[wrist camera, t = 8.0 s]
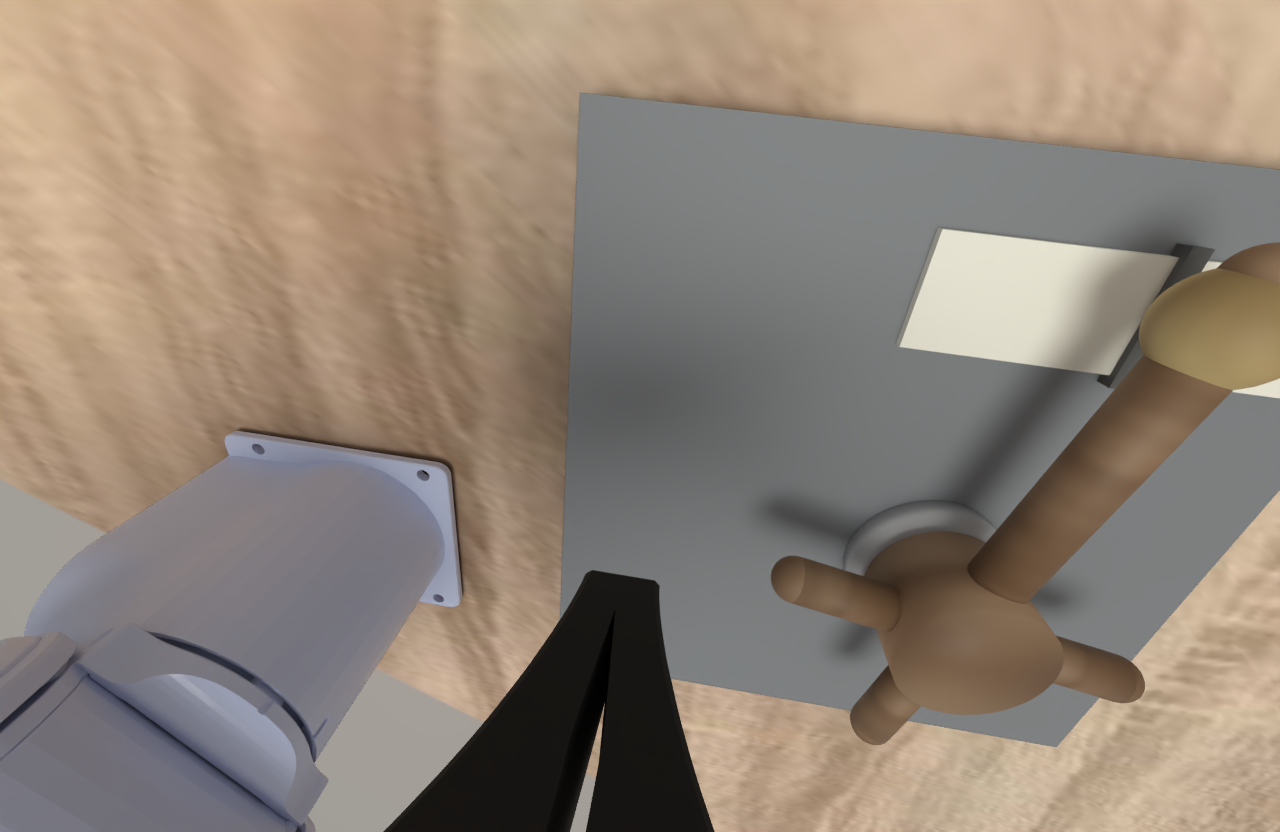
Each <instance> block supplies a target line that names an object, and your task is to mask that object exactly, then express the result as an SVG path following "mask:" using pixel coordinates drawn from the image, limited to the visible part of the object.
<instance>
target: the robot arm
mask: <svg viewBox="0 0 1280 832" xmlns="http://www.w3.org/2000/svg"><path fill="white" fill-rule="evenodd" d="M224 440H225V445H226V448H227V451H228V454H229V456H228V457H226V458H225V459H223V460H222V461H220V462H219V463H217V464H215V465H214V466H212V467H211V468H209V469H207V470H206V471H204V472H203V473H201V474H200V475H198V476H196V477H195V478H193V479H192V480H190V481H189V482H187V483H185V484H184V485H182V486H181V487H179V488H178V489H176V490H174V491H173V492H171V493H170V494H168V495H167V496H165V497H163V498H162V499H160V500H159V501H157V502H156V503H154V504H152V505H151V506H149V507H148V508H146V509H145V510H143V511H141V512H140V513H138V514H137V515H135V516H134V517H132V518H130V519H129V520H127V521H126V522H124V523H123V524H121V525H119V526H118V527H116V528H115V529H113V530H112V531H110V532H108V533H107V534H105V535H104V536H102V537H100V538H99V539H97V540H96V541H94V542H93V543H91V544H90V545H89V546H87V547H86V548H85V549H83V550H82V551H81V552H79V553H78V554H77V555H76V556H75V557H73V558H72V559H71V560H70V561H69V562H68V563H67V564H66V565H65V566H64V567H63V568H62V569H61V570H60V571H59V572H58V573H57V575H56V576H55V577H54V578H53V579H52V580H51V582H50V583H49V584H48V586H47V587H46V588H45V590H44V591H43V593H42V594H41V596H40V597H39V599H38V600H37V602H36V604H35V605H34V607H33V609H32V611H31V613H30V615H29V618H28V621H27V624H26V627H25V631H24V636H23V637H13V638H7V639H4V640H1V641H0V832H316V829H315V825H314V823H313V822H312V821H311V819H310V818H309V817H308V814H309V813H310V811H311V809H312V808H313V806H314V804H315V803H316V801H317V799H318V798H319V796H320V795H321V793H322V791H323V790H324V788H325V786H326V785H327V783H328V778H327V777H326V776H325V775H324V774H323V773H322V772H320V770H319V769H318V768H317V767H316V766H315V764H314V763H315V761H316V759H317V758H318V756H319V755H320V753H321V752H322V750H323V749H324V747H325V746H326V744H327V742H328V741H329V739H330V738H331V736H332V735H333V733H334V732H335V730H336V728H337V727H338V725H339V724H340V722H341V721H342V719H343V718H344V716H345V715H346V713H347V711H348V710H349V708H350V707H351V705H352V704H353V702H354V700H355V699H356V697H357V696H358V694H359V693H360V691H361V690H362V688H363V686H364V685H365V684H366V682H367V680H368V679H369V677H370V676H371V674H372V673H373V671H374V670H375V668H376V667H377V665H378V663H379V662H380V660H381V659H382V657H383V656H384V654H385V653H386V651H387V649H388V648H389V646H390V645H391V643H392V642H393V640H394V639H395V637H396V636H397V634H398V632H399V631H400V629H401V628H402V626H403V625H404V623H405V622H406V620H407V618H408V617H409V615H410V614H411V612H412V611H413V609H414V608H415V606H416V604H417V603H418V602H424V603H430V604H435V605H441V606H447V607H455V606H458V605H459V603H460V601H461V600H462V587H461V576H460V565H459V554H458V544H457V533H456V522H455V511H454V500H453V489H452V479H451V472H450V470H449V469H448V467H447V466H445V465H444V464H442V463H439V462H434V461H427V460H421V459H414V458H408V457H402V456H395V455H389V454H383V453H376V452H370V451H363V450H357V449H351V448H344V447H338V446H332V445H325V444H319V443H312V442H306V441H300V440H293V439H287V438H280V437H274V436H268V435H261V434H255V433H249V432H242V431H234V432H232V433H231V434H229V435H227V436H226V437H225V439H224ZM422 470H424V471H426V472H427V473H428V474H429V475H426V474H425V473H424V472H423V471H422ZM659 590H660V586H659V585H658V583H657V582H656V581H655V580H650V579H644V578H638V577H632V576H626V575H620V574H614V573H608V572H602V571H596V570H591V571H589V572H587V573H586V574H585V576H584V578H583V580H582V583H581V585H580V586H579V588H578V590H577V592H576V594H575V596H574V597H573V599H572V601H571V603H570V604H569V606H568V608H567V609H566V611H565V613H564V614H563V616H562V617H561V619H560V621H559V622H558V624H557V625H556V627H555V628H554V630H553V631H552V633H551V634H550V636H549V637H548V639H547V640H546V641H545V643H544V644H543V646H542V647H541V649H540V650H539V652H538V653H537V654H536V656H535V657H534V659H533V660H532V662H531V663H530V664H529V666H528V667H527V668H526V670H525V671H524V673H523V674H522V675H521V676H520V678H519V679H518V680H517V682H516V683H515V684H514V685H513V687H512V688H511V689H510V691H509V692H508V693H507V694H506V696H505V697H504V698H503V700H502V701H501V702H500V703H499V705H498V706H497V707H496V709H495V710H494V711H493V712H492V714H491V715H490V716H489V717H488V718H487V720H486V721H485V722H484V723H483V724H482V726H481V727H480V728H479V729H478V730H477V732H476V733H475V734H474V735H473V736H472V737H471V739H470V740H469V741H468V742H467V743H466V744H465V745H464V747H463V748H462V749H461V750H460V751H459V752H458V753H457V754H456V756H455V757H454V758H453V759H452V760H451V761H450V762H449V764H448V765H447V766H446V767H445V768H444V769H443V770H442V771H441V772H440V773H439V775H438V776H437V777H436V778H435V779H434V780H433V781H432V782H431V783H430V784H429V785H428V786H427V787H426V788H425V789H424V790H423V791H422V792H421V794H419V796H418V797H417V798H416V799H415V800H414V801H413V802H412V803H411V804H410V805H409V806H408V807H407V808H406V809H405V810H404V811H403V812H402V813H401V815H399V817H397V819H396V820H395V821H394V822H393V823H392V824H391V825H390V826H389V827H388V828H387V829H386V830H385V831H384V832H570V829H571V825H572V822H573V818H574V814H575V811H576V807H577V803H578V799H579V796H580V792H581V789H582V785H583V781H584V777H585V774H586V770H587V766H588V763H589V759H590V755H591V752H592V748H593V744H594V740H595V737H596V733H597V729H598V726H599V722H600V718H601V714H602V711H603V707H604V717H603V727H602V737H601V747H600V757H599V765H598V770H597V776H596V781H595V787H594V792H593V797H592V802H591V808H590V813H589V818H588V823H587V829H586V832H714V829H713V826H712V823H711V820H710V817H709V814H708V811H707V808H706V805H705V802H704V799H703V796H702V793H701V790H700V787H699V784H698V780H697V777H696V774H695V771H694V767H693V764H692V760H691V757H690V754H689V750H688V746H687V743H686V739H685V735H684V732H683V728H682V724H681V721H680V717H679V713H678V708H677V704H676V700H675V696H674V691H673V686H672V682H671V677H670V673H669V668H668V663H667V658H666V652H665V646H664V639H663V632H662V625H661V616H660V599H659ZM604 703H605V706H604Z"/></svg>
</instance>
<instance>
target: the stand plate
mask: <svg viewBox="0 0 1280 832" xmlns="http://www.w3.org/2000/svg"><path fill="white" fill-rule="evenodd" d="M1276 242H1280V170H1278V169H1268V168H1259V167H1250V166H1241V165H1232V164H1223V163H1214V162H1205V161H1196V160H1187V159H1178V158H1169V157H1160V156H1151V155H1141V154H1132V153H1123V152H1114V151H1105V150H1096V149H1087V148H1078V147H1069V146H1060V145H1051V144H1042V143H1033V142H1024V141H1014V140H1005V139H996V138H987V137H978V136H969V135H960V134H951V133H942V132H933V131H924V130H915V129H906V128H897V127H887V126H878V125H869V124H860V123H851V122H842V121H833V120H824V119H815V118H806V117H797V116H788V115H779V114H770V113H760V112H751V111H742V110H733V109H724V108H715V107H706V106H697V105H688V104H679V103H670V102H661V101H652V100H643V99H633V98H624V97H615V96H606V95H597V94H588V93H580V102H579V128H578V155H577V181H576V208H575V234H574V260H573V287H572V313H571V340H570V366H569V392H568V419H567V445H566V472H565V498H564V524H563V551H562V577H561V603H560V619H561V617H562V616H563V614H564V613H565V611H566V609H567V608H568V606H569V604H570V603H571V601H572V599H573V597H574V596H575V594H576V592H577V590H578V588H579V586H580V585H581V583H582V580H583V578H584V576H585V574H586V573H587V572H589V571H591V570H596V571H602V572H608V573H614V574H620V575H626V576H632V577H638V578H644V579H650V580H655V581H656V582H657V583H658V585H659V586H660V590H659V599H660V616H661V625H662V632H663V639H664V646H665V652H666V658H667V663H668V668H669V673H670V677H671V679H675V680H681V681H687V682H692V683H698V684H703V685H709V686H715V687H720V688H726V689H732V690H737V691H743V692H748V693H754V694H760V695H765V696H771V697H777V698H782V699H788V700H793V701H799V702H805V703H810V704H816V705H822V706H827V707H833V708H838V709H844V710H850V711H851V710H852V708H853V706H854V705H855V703H856V702H857V701H858V700H859V699H860V698H861V696H862V695H863V694H864V693H865V692H866V690H867V689H868V688H869V687H870V686H871V685H872V683H873V682H874V681H875V680H876V679H877V677H878V676H879V675H880V674H881V673H882V672H883V670H884V669H885V668H886V667H887V666H888V662H887V659H886V657H885V654H884V651H883V648H882V645H881V642H880V639H879V636H878V634H877V631H876V629H874V628H870V627H867V626H864V625H861V624H857V623H854V622H851V621H847V620H844V619H841V618H838V617H834V616H831V615H828V614H825V613H821V612H818V611H815V610H811V609H808V608H805V607H802V606H798V605H795V604H792V603H789V602H787V601H785V600H783V599H781V598H780V597H779V596H778V595H777V594H776V592H775V591H774V589H773V586H772V584H771V572H772V569H773V567H774V565H775V564H776V562H777V561H779V560H780V559H781V558H783V557H786V556H800V557H803V558H806V559H810V560H813V561H816V562H819V563H822V564H826V565H829V566H832V567H835V568H839V569H842V570H845V571H848V572H852V573H855V574H858V575H861V576H864V574H865V572H866V569H867V568H868V566H869V564H870V563H871V562H872V560H873V559H874V558H875V557H876V556H877V555H878V554H879V553H880V552H881V551H883V550H884V549H885V548H887V547H888V546H890V545H892V544H893V543H895V542H897V541H899V540H902V539H904V538H907V537H910V536H913V535H917V534H921V533H927V532H938V531H946V532H957V533H962V534H966V535H970V536H972V537H975V538H978V539H979V540H981V541H983V542H985V543H986V542H987V541H988V540H989V539H990V537H991V536H992V535H993V534H994V533H995V531H996V530H997V529H998V528H999V527H1000V526H1001V524H1002V523H1003V522H1004V521H1005V520H1006V518H1007V517H1008V516H1009V515H1010V514H1011V512H1012V511H1013V510H1014V509H1015V508H1016V506H1017V505H1018V504H1019V503H1020V502H1021V500H1022V499H1023V498H1024V497H1025V496H1026V495H1027V493H1028V492H1029V491H1030V490H1031V489H1032V487H1033V486H1034V485H1035V484H1036V483H1037V481H1038V480H1039V479H1040V478H1041V477H1042V475H1043V474H1044V473H1045V472H1046V471H1047V470H1048V468H1049V467H1050V466H1051V465H1052V464H1053V462H1054V461H1055V460H1056V459H1057V458H1058V456H1059V455H1060V454H1061V453H1062V452H1063V450H1064V449H1065V448H1066V447H1067V446H1068V444H1069V443H1070V442H1071V441H1072V440H1073V439H1074V437H1075V436H1076V435H1077V434H1078V433H1079V431H1080V430H1081V429H1082V428H1083V427H1084V425H1085V424H1086V423H1087V422H1088V421H1089V419H1090V418H1091V417H1092V416H1093V415H1094V414H1095V412H1096V411H1097V410H1098V409H1099V408H1100V406H1101V405H1102V404H1103V403H1104V402H1105V400H1106V399H1107V398H1108V397H1109V396H1110V394H1111V393H1112V392H1113V391H1114V390H1115V388H1116V387H1117V386H1118V385H1119V384H1120V383H1121V381H1122V380H1123V379H1124V378H1125V377H1126V375H1127V374H1128V373H1129V372H1130V371H1131V369H1132V368H1133V367H1134V366H1135V365H1136V363H1137V362H1138V361H1139V360H1140V359H1141V358H1142V356H1143V353H1142V350H1141V347H1140V343H1139V329H1140V324H1141V321H1142V319H1143V316H1144V314H1145V313H1146V311H1147V309H1148V308H1149V307H1150V305H1151V304H1152V303H1153V302H1154V301H1155V299H1156V298H1157V297H1159V296H1160V295H1161V294H1162V293H1163V292H1164V291H1166V290H1167V289H1168V288H1170V287H1171V286H1173V285H1174V284H1176V283H1178V282H1180V281H1182V280H1184V279H1186V278H1188V277H1190V276H1192V275H1195V274H1198V273H1201V272H1204V271H1207V270H1211V269H1216V268H1217V267H1218V266H1219V265H1220V264H1221V263H1222V262H1224V261H1225V260H1227V259H1228V258H1229V257H1231V256H1233V255H1235V254H1236V253H1238V252H1240V251H1242V250H1245V249H1248V248H1250V247H1253V246H1257V245H1262V244H1266V243H1276ZM1279 490H1280V378H1279V379H1277V380H1274V381H1271V382H1269V383H1266V384H1263V385H1259V386H1255V387H1250V388H1245V389H1239V390H1233V391H1232V392H1231V393H1230V394H1229V395H1228V396H1227V397H1226V398H1225V399H1224V400H1223V401H1222V402H1221V403H1220V404H1219V405H1218V406H1217V407H1216V408H1215V410H1214V411H1213V412H1212V413H1211V414H1210V415H1209V416H1208V417H1207V418H1206V419H1205V420H1204V421H1203V422H1202V423H1201V424H1200V425H1199V426H1198V427H1197V428H1196V429H1195V430H1194V431H1193V432H1192V433H1191V434H1190V435H1189V436H1188V437H1187V438H1186V439H1185V440H1184V441H1183V443H1182V444H1181V445H1180V446H1179V447H1178V448H1177V449H1176V450H1175V451H1174V452H1173V453H1172V454H1171V455H1170V456H1169V457H1168V458H1167V459H1166V460H1165V461H1164V462H1163V463H1162V464H1161V465H1160V466H1159V467H1158V468H1157V469H1156V470H1155V471H1154V472H1153V473H1152V474H1151V476H1150V477H1149V478H1148V479H1147V480H1146V481H1145V482H1144V483H1143V484H1142V485H1141V486H1140V487H1139V488H1138V489H1137V490H1136V491H1135V492H1134V493H1133V494H1132V495H1131V496H1130V497H1129V498H1128V499H1127V500H1126V501H1125V502H1124V503H1123V504H1122V505H1121V506H1120V507H1119V508H1118V510H1117V511H1116V512H1115V513H1114V514H1113V515H1112V516H1111V517H1110V518H1109V519H1108V520H1107V521H1106V522H1105V523H1104V524H1103V525H1102V526H1101V527H1100V528H1099V529H1098V530H1097V531H1096V532H1095V533H1094V534H1093V535H1092V536H1091V537H1090V538H1089V539H1088V540H1087V541H1086V543H1085V544H1084V545H1083V546H1082V547H1081V548H1080V549H1079V550H1078V551H1077V552H1076V553H1075V554H1074V555H1073V556H1072V557H1071V558H1070V559H1069V560H1068V561H1067V562H1066V563H1065V564H1064V565H1063V566H1062V567H1061V568H1060V569H1059V570H1058V571H1057V572H1056V573H1055V574H1054V576H1053V577H1052V578H1051V579H1050V580H1049V581H1048V582H1047V583H1046V584H1045V585H1044V586H1043V587H1042V588H1041V589H1040V590H1039V591H1038V592H1037V593H1036V594H1035V595H1034V596H1033V597H1032V598H1031V599H1030V600H1031V602H1032V603H1033V605H1034V606H1035V607H1036V609H1037V610H1038V612H1039V613H1040V614H1041V616H1042V617H1043V619H1044V620H1045V621H1046V623H1047V624H1048V626H1049V627H1050V628H1051V630H1052V631H1053V633H1054V634H1055V635H1056V636H1059V637H1062V638H1066V639H1069V640H1072V641H1075V642H1079V643H1082V644H1085V645H1088V646H1092V647H1095V648H1098V649H1101V650H1105V651H1108V652H1111V653H1114V654H1117V655H1120V656H1122V657H1124V658H1126V659H1128V660H1129V661H1130V662H1131V661H1132V660H1133V658H1134V657H1135V656H1136V655H1137V654H1138V653H1139V651H1140V650H1141V649H1142V648H1143V647H1144V646H1145V645H1146V643H1147V642H1148V641H1149V640H1150V639H1151V638H1152V637H1153V635H1154V634H1155V633H1156V632H1157V631H1158V630H1159V628H1160V627H1161V626H1162V625H1163V624H1164V623H1165V622H1166V620H1167V619H1168V618H1169V617H1170V616H1171V615H1172V613H1173V612H1174V611H1175V610H1176V609H1177V608H1178V607H1179V605H1180V604H1181V603H1182V602H1183V601H1184V600H1185V599H1186V597H1187V596H1188V595H1189V594H1190V593H1191V592H1192V590H1193V589H1194V588H1195V587H1196V586H1197V585H1198V584H1199V582H1200V581H1201V580H1202V579H1203V578H1204V577H1205V575H1206V574H1207V573H1208V572H1209V571H1210V570H1211V569H1212V567H1213V566H1214V565H1215V564H1216V563H1217V562H1218V561H1219V559H1220V558H1221V557H1222V556H1223V555H1224V554H1225V552H1226V551H1227V550H1228V549H1229V548H1230V547H1231V546H1232V544H1233V543H1234V542H1235V541H1236V540H1237V539H1238V538H1239V536H1240V535H1241V534H1242V533H1243V532H1244V531H1245V529H1246V528H1247V527H1248V526H1249V525H1250V524H1251V523H1252V521H1253V520H1254V519H1255V518H1256V517H1257V516H1258V514H1259V513H1260V512H1261V511H1262V510H1263V509H1264V508H1265V506H1266V505H1267V504H1268V503H1269V502H1270V501H1271V500H1272V498H1273V497H1274V496H1275V495H1276V494H1277V493H1278V491H1279ZM1098 699H1099V697H1096V696H1093V695H1090V694H1086V693H1083V692H1080V691H1076V690H1073V689H1070V688H1067V687H1063V686H1060V685H1057V684H1054V683H1053V684H1052V685H1051V686H1050V687H1049V688H1048V689H1046V690H1045V691H1044V692H1042V693H1041V694H1040V695H1038V696H1037V697H1035V698H1033V699H1032V700H1030V701H1028V702H1026V703H1024V704H1021V705H1019V706H1016V707H1014V708H1010V709H1007V710H1004V711H999V712H994V713H988V714H979V715H957V714H948V713H942V712H938V711H934V710H930V709H928V708H925V707H922V706H921V707H920V708H919V709H918V710H917V711H916V712H915V713H914V714H913V715H912V716H911V717H910V718H909V719H908V721H912V722H917V723H923V724H928V725H934V726H940V727H945V728H951V729H957V730H962V731H968V732H973V733H979V734H985V735H990V736H996V737H1001V738H1007V739H1013V740H1018V741H1024V742H1030V743H1035V744H1041V745H1046V746H1052V747H1057V746H1058V745H1059V744H1060V742H1061V741H1062V740H1063V739H1064V738H1065V737H1066V736H1067V734H1068V733H1069V732H1070V731H1071V730H1072V729H1073V727H1074V726H1075V725H1076V724H1077V723H1078V722H1079V721H1080V719H1081V718H1082V717H1083V716H1084V715H1085V714H1086V712H1087V711H1088V710H1089V709H1090V708H1091V707H1092V706H1093V704H1094V703H1095V702H1096V701H1097V700H1098Z"/></svg>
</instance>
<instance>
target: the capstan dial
mask: <svg viewBox="0 0 1280 832" xmlns="http://www.w3.org/2000/svg"><path fill="white" fill-rule="evenodd" d="M1139 343H1140V347H1141V350H1142V353H1143V356H1142V358H1141V359H1140V360H1139V361H1138V362H1137V363H1136V365H1135V366H1134V367H1133V368H1132V369H1131V371H1130V372H1129V373H1128V374H1127V375H1126V377H1125V378H1124V379H1123V380H1122V381H1121V383H1120V384H1119V385H1118V386H1117V387H1116V388H1115V390H1114V391H1113V392H1112V393H1111V394H1110V396H1109V397H1108V398H1107V399H1106V400H1105V402H1104V403H1103V404H1102V405H1101V406H1100V408H1099V409H1098V410H1097V411H1096V412H1095V414H1094V415H1093V416H1092V417H1091V418H1090V419H1089V421H1088V422H1087V423H1086V424H1085V425H1084V427H1083V428H1082V429H1081V430H1080V431H1079V433H1078V434H1077V435H1076V436H1075V437H1074V439H1073V440H1072V441H1071V442H1070V443H1069V444H1068V446H1067V447H1066V448H1065V449H1064V450H1063V452H1062V453H1061V454H1060V455H1059V456H1058V458H1057V459H1056V460H1055V461H1054V462H1053V464H1052V465H1051V466H1050V467H1049V468H1048V470H1047V471H1046V472H1045V473H1044V474H1043V475H1042V477H1041V478H1040V479H1039V480H1038V481H1037V483H1036V484H1035V485H1034V486H1033V487H1032V489H1031V490H1030V491H1029V492H1028V493H1027V495H1026V496H1025V497H1024V498H1023V499H1022V500H1021V502H1020V503H1019V504H1018V505H1017V506H1016V508H1015V509H1014V510H1013V511H1012V512H1011V514H1010V515H1009V516H1008V517H1007V518H1006V520H1005V521H1004V522H1003V523H1002V524H1001V526H1000V527H999V528H998V529H997V530H996V531H995V533H994V534H993V535H992V536H991V537H990V539H989V540H988V541H987V542H986V543H985V542H983V541H981V540H979V539H978V538H975V537H972V536H970V535H966V534H962V533H957V532H946V531H938V532H927V533H921V534H917V535H913V536H910V537H907V538H904V539H902V540H899V541H897V542H895V543H893V544H892V545H890V546H888V547H887V548H885V549H884V550H883V551H881V552H880V553H879V554H878V555H877V556H876V557H875V558H874V559H873V560H872V562H871V563H870V564H869V566H868V568H867V569H866V572H865V574H864V576H861V575H858V574H855V573H852V572H848V571H845V570H842V569H839V568H835V567H832V566H829V565H826V564H822V563H819V562H816V561H813V560H810V559H806V558H803V557H800V556H786V557H783V558H781V559H780V560H779V561H777V562H776V564H775V565H774V567H773V569H772V572H771V584H772V586H773V589H774V591H775V592H776V594H777V595H778V596H779V597H780V598H781V599H783V600H785V601H787V602H789V603H792V604H795V605H798V606H802V607H805V608H808V609H811V610H815V611H818V612H821V613H825V614H828V615H831V616H834V617H838V618H841V619H844V620H847V621H851V622H854V623H857V624H861V625H864V626H867V627H870V628H874V629H876V631H877V634H878V636H879V639H880V642H881V645H882V648H883V651H884V654H885V657H886V659H887V662H888V666H887V667H886V668H885V669H884V670H883V672H882V673H881V674H880V675H879V676H878V677H877V679H876V680H875V681H874V682H873V683H872V685H871V686H870V687H869V688H868V689H867V690H866V692H865V693H864V694H863V695H862V696H861V698H860V699H859V700H858V701H857V702H856V703H855V705H854V706H853V708H852V710H851V714H850V721H851V725H852V728H853V730H854V732H855V733H856V734H857V736H858V737H859V738H860V739H862V740H863V741H864V742H866V743H869V744H872V745H881V744H884V743H886V742H887V741H888V740H889V739H890V738H891V737H892V736H893V735H894V734H895V733H896V732H897V731H898V730H899V729H900V728H901V727H902V726H903V725H904V724H905V723H906V722H907V721H908V719H909V718H910V717H911V716H912V715H913V714H914V713H915V712H916V711H917V710H918V709H919V708H920V707H921V706H922V707H925V708H928V709H930V710H934V711H938V712H942V713H948V714H957V715H979V714H988V713H994V712H999V711H1004V710H1007V709H1010V708H1014V707H1016V706H1019V705H1021V704H1024V703H1026V702H1028V701H1030V700H1032V699H1033V698H1035V697H1037V696H1038V695H1040V694H1041V693H1042V692H1044V691H1045V690H1046V689H1048V688H1049V687H1050V686H1051V685H1052V684H1053V683H1054V684H1057V685H1060V686H1063V687H1067V688H1070V689H1073V690H1076V691H1080V692H1083V693H1086V694H1090V695H1093V696H1096V697H1099V698H1103V699H1106V700H1109V701H1112V702H1118V703H1130V702H1133V701H1136V700H1137V699H1139V698H1140V697H1141V696H1142V694H1143V692H1144V689H1145V682H1144V678H1143V676H1142V674H1141V672H1140V671H1139V669H1138V668H1137V667H1136V666H1135V665H1134V664H1133V663H1132V662H1130V661H1129V660H1128V659H1126V658H1124V657H1122V656H1120V655H1117V654H1114V653H1111V652H1108V651H1105V650H1101V649H1098V648H1095V647H1092V646H1088V645H1085V644H1082V643H1079V642H1075V641H1072V640H1069V639H1066V638H1062V637H1059V636H1056V635H1055V634H1054V633H1053V631H1052V630H1051V628H1050V627H1049V626H1048V624H1047V623H1046V621H1045V620H1044V619H1043V617H1042V616H1041V614H1040V613H1039V612H1038V610H1037V609H1036V607H1035V606H1034V605H1033V603H1032V602H1031V600H1030V599H1031V598H1032V597H1033V596H1034V595H1035V594H1036V593H1037V592H1038V591H1039V590H1040V589H1041V588H1042V587H1043V586H1044V585H1045V584H1046V583H1047V582H1048V581H1049V580H1050V579H1051V578H1052V577H1053V576H1054V574H1055V573H1056V572H1057V571H1058V570H1059V569H1060V568H1061V567H1062V566H1063V565H1064V564H1065V563H1066V562H1067V561H1068V560H1069V559H1070V558H1071V557H1072V556H1073V555H1074V554H1075V553H1076V552H1077V551H1078V550H1079V549H1080V548H1081V547H1082V546H1083V545H1084V544H1085V543H1086V541H1087V540H1088V539H1089V538H1090V537H1091V536H1092V535H1093V534H1094V533H1095V532H1096V531H1097V530H1098V529H1099V528H1100V527H1101V526H1102V525H1103V524H1104V523H1105V522H1106V521H1107V520H1108V519H1109V518H1110V517H1111V516H1112V515H1113V514H1114V513H1115V512H1116V511H1117V510H1118V508H1119V507H1120V506H1121V505H1122V504H1123V503H1124V502H1125V501H1126V500H1127V499H1128V498H1129V497H1130V496H1131V495H1132V494H1133V493H1134V492H1135V491H1136V490H1137V489H1138V488H1139V487H1140V486H1141V485H1142V484H1143V483H1144V482H1145V481H1146V480H1147V479H1148V478H1149V477H1150V476H1151V474H1152V473H1153V472H1154V471H1155V470H1156V469H1157V468H1158V467H1159V466H1160V465H1161V464H1162V463H1163V462H1164V461H1165V460H1166V459H1167V458H1168V457H1169V456H1170V455H1171V454H1172V453H1173V452H1174V451H1175V450H1176V449H1177V448H1178V447H1179V446H1180V445H1181V444H1182V443H1183V441H1184V440H1185V439H1186V438H1187V437H1188V436H1189V435H1190V434H1191V433H1192V432H1193V431H1194V430H1195V429H1196V428H1197V427H1198V426H1199V425H1200V424H1201V423H1202V422H1203V421H1204V420H1205V419H1206V418H1207V417H1208V416H1209V415H1210V414H1211V413H1212V412H1213V411H1214V410H1215V408H1216V407H1217V406H1218V405H1219V404H1220V403H1221V402H1222V401H1223V400H1224V399H1225V398H1226V397H1227V396H1228V395H1229V394H1230V393H1231V392H1232V391H1233V390H1239V389H1245V388H1250V387H1255V386H1259V385H1263V384H1266V383H1269V382H1271V381H1274V380H1277V379H1279V378H1280V242H1276V243H1266V244H1262V245H1257V246H1253V247H1250V248H1248V249H1245V250H1242V251H1240V252H1238V253H1236V254H1235V255H1233V256H1231V257H1229V258H1228V259H1227V260H1225V261H1224V262H1222V263H1221V264H1220V265H1219V266H1218V267H1217V268H1216V269H1211V270H1207V271H1204V272H1201V273H1198V274H1195V275H1192V276H1190V277H1188V278H1186V279H1184V280H1182V281H1180V282H1178V283H1176V284H1174V285H1173V286H1171V287H1170V288H1168V289H1167V290H1166V291H1164V292H1163V293H1162V294H1161V295H1160V296H1159V297H1157V298H1156V299H1155V301H1154V302H1153V303H1152V304H1151V305H1150V307H1149V308H1148V309H1147V311H1146V313H1145V314H1144V316H1143V319H1142V321H1141V324H1140V329H1139Z"/></svg>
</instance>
